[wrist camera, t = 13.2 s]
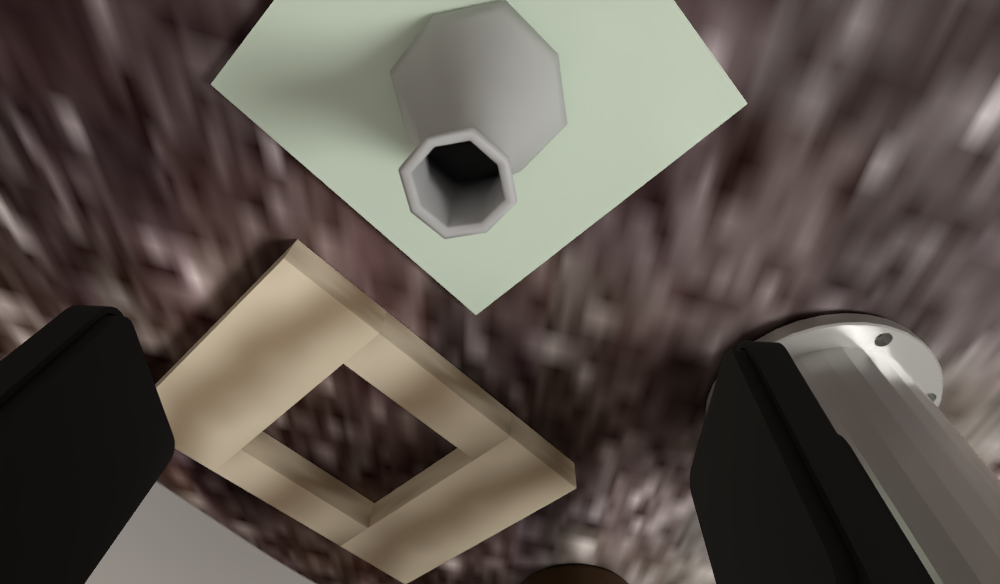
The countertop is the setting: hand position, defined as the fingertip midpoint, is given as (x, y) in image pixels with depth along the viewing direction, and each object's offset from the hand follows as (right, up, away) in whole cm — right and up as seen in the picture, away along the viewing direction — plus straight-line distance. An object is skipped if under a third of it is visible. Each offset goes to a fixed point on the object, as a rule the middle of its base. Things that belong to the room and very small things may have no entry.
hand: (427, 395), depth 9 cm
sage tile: (0, +11, +16) cm, 19 cm away
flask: (0, +10, +15) cm, 18 cm away
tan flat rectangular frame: (-7, -7, +27) cm, 29 cm away
